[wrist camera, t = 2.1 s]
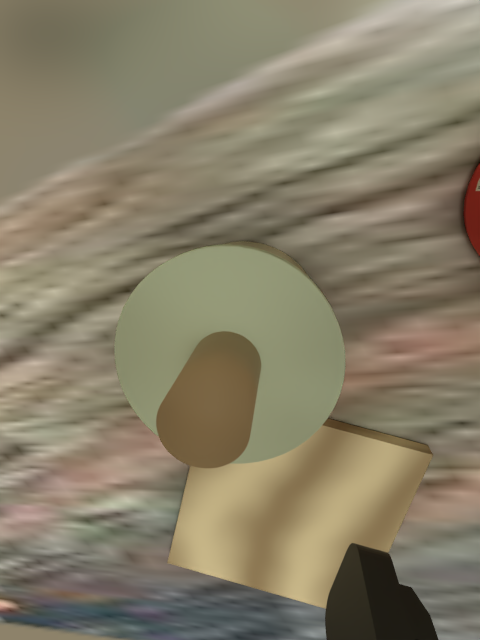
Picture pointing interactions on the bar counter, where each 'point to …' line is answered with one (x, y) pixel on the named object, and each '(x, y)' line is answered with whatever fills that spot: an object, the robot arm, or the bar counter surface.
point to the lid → (229, 355)
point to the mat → (298, 510)
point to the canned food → (473, 210)
